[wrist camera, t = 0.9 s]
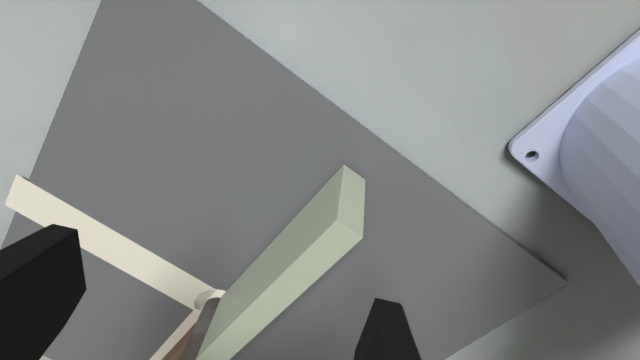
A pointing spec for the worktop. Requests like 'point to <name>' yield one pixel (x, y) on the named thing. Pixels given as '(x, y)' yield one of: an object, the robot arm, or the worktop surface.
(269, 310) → the sage fence panel
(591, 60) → the worktop surface
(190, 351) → the walnut fence section
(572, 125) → the robot arm
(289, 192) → the card
